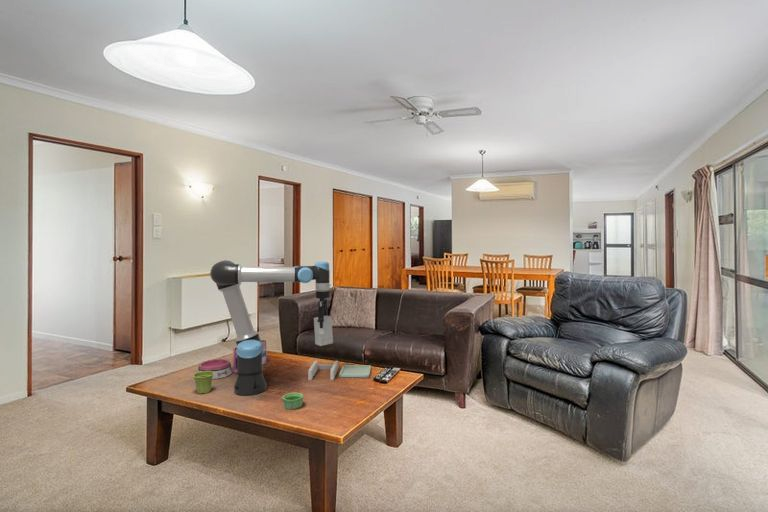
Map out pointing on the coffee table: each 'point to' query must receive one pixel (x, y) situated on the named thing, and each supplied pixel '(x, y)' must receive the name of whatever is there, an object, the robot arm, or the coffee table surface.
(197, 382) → the plant pot
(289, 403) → the ramekin
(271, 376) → the coffee table surface
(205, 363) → the dog bowl
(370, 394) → the coffee table surface
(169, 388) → the coffee table surface
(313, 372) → the bay
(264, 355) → the gum box
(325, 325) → the skincare box
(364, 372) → the tray
